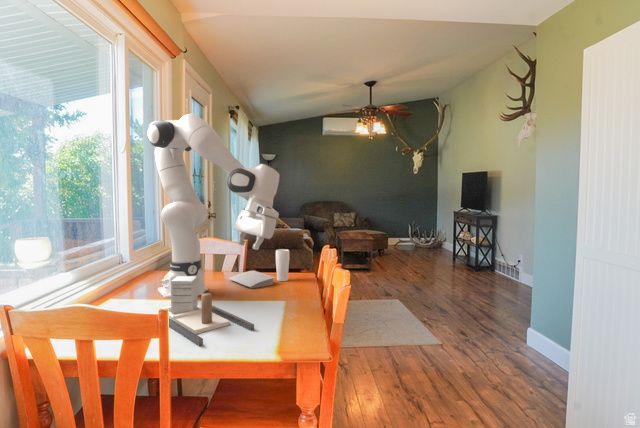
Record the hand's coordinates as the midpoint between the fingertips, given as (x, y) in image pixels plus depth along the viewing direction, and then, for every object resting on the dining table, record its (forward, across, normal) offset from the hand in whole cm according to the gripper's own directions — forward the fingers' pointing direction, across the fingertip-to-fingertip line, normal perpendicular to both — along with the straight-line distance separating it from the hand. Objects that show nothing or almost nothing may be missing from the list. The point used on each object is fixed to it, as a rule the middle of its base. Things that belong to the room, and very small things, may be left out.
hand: (247, 247), depth 131 cm
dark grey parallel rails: (+27, +4, -9) cm, 29 cm away
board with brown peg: (+28, -5, -10) cm, 30 cm away
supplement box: (+28, -12, -10) cm, 32 cm away
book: (+18, -37, +32) cm, 52 cm away
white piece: (+13, -31, +45) cm, 56 cm away
